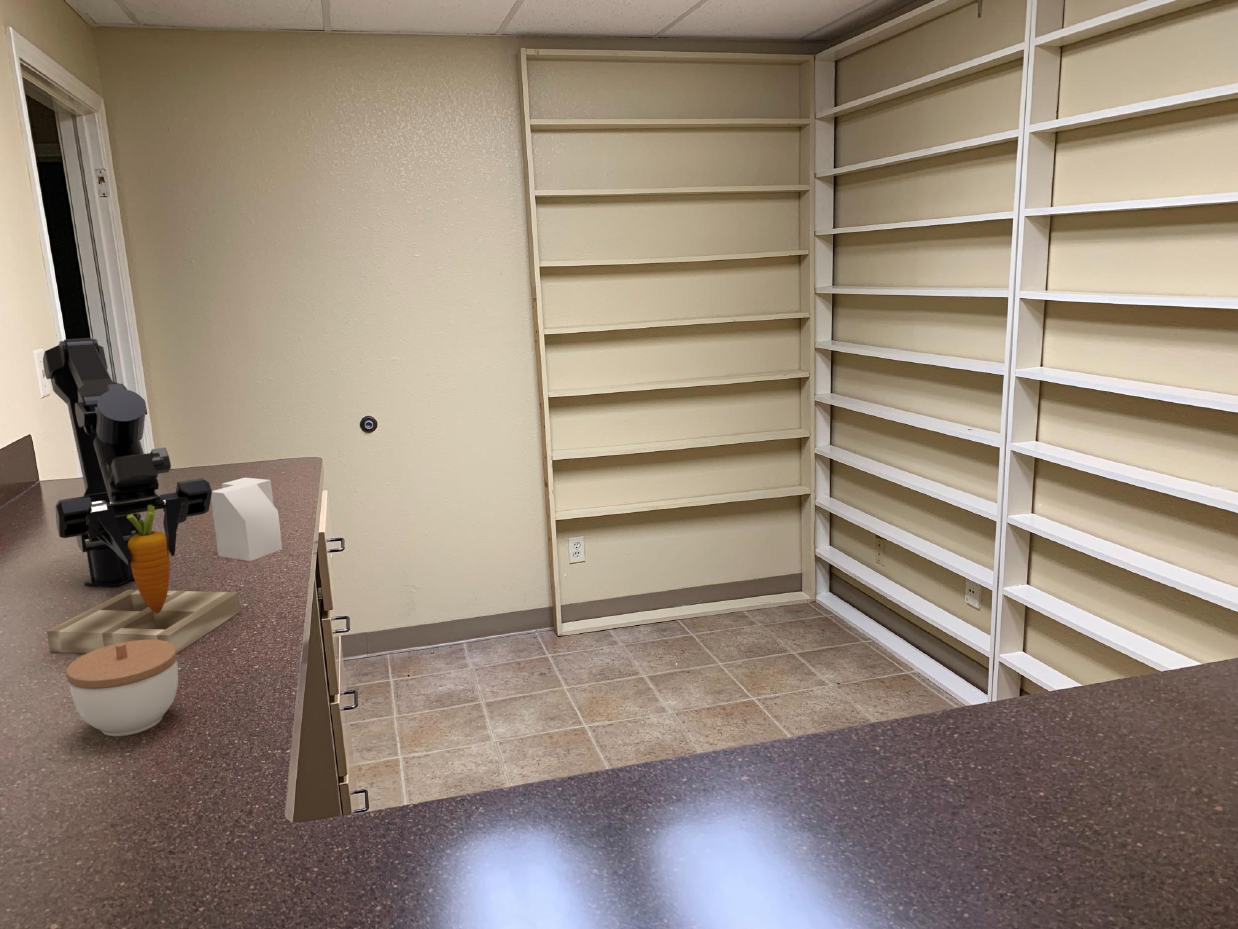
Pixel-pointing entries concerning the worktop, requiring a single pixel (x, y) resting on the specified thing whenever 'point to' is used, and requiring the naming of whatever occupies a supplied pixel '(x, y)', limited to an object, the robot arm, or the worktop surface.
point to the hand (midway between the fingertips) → (151, 558)
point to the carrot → (150, 561)
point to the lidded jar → (125, 685)
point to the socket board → (144, 621)
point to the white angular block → (246, 519)
